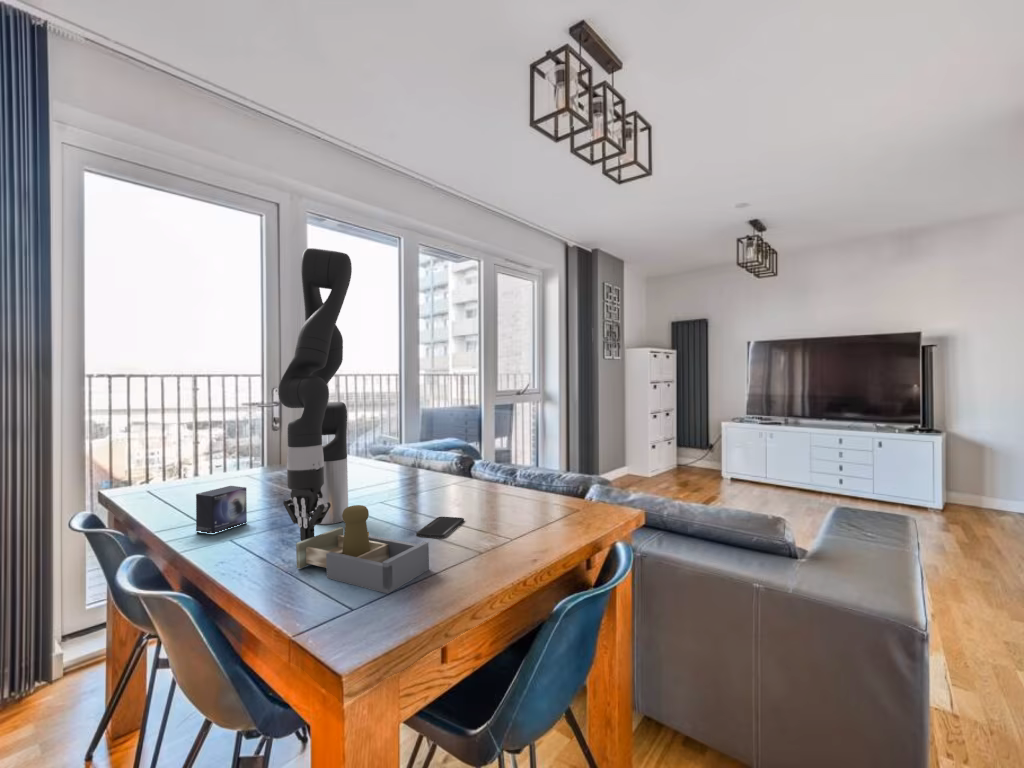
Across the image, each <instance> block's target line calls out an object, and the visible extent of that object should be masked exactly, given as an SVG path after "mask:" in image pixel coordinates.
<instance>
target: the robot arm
mask: <svg viewBox="0 0 1024 768" xmlns="http://www.w3.org/2000/svg"><path fill="white" fill-rule="evenodd" d="M300 260H301V261H300V262H301V263H300V273H301V275H300V276H301V283H302V295H303V303H304V323H303V324H302V326H301V328H300V331H299V333H298V337H297V341H296V347H295V350H294V355H293V358H292V359H291V360H290V362H289V364H288V366H287V368H286V369H285V372H284V374H283V375H282V377H281V379H280V382H279V384H278V392H277V393H278V399H279V402H280V403H281V404H282V405H283V406H284V407H285V408H290V409H303V410H302V413H301V416H300V417H299V418H296V419H293V420H291V421H289V423H288V424H287V453H286V473H287V474H286V475H287V476H286V478H287V479H286V480H287V481H286V483H287V488H288V489H289V490H291V491H290V497H289V498H288V499H286V500H283V502H282V503H283V506H284V508H285V510H286V512H287V514H288V516H289V518H290V520H291V522H292V523H293V524H296V525H297V526H298V528H299V532H300V534H299V535H300V536H299V538H300V541H303V540H306V539H309V538H312V537H314V536H315V526H316V525H331V524H338V523H340V522H341V523H342V522H344V521H343V518H342V514H343V511H344V509H345V508H347V507H349V483H348V482H349V479H348V472H349V471H348V449H347V448H348V444H347V442H348V441H347V440H348V438H347V436H348V432H347V431H348V409H347V406H346V404H345V403H344V402H342V401H329V398H330V390H329V386H328V383H329V382H330V381H331V379H332V378H333V377H334V376H335V375H336V374H337V372H338V371H339V368H340V367H341V365H342V363H343V361H344V359H343V357H344V340H343V335H342V333H341V331H340V329H339V327H338V326H337V320H338V319H339V316H340V313H341V310H342V308H343V304H344V302H345V298H346V296H347V292H348V289H349V287H350V283H351V279H352V273H353V272H352V269H353V268H352V260H351V258H350V256H349V254H348V253H344V252H341V251H335V250H328V249H321V248H315V247H307V248H305V249H304V251H303V253H302V257H301V259H300ZM320 288H321V289H325V290H326V289H327V290H330V291H329V294H328V297H327V298H326V300H325V301H324V302H323V298H322V295H321V290H320ZM333 435H334V438H333V439H331V441H329V442H328V443H326V444H324V445H323V436H333Z"/></svg>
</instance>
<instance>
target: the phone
mask: <svg viewBox="0 0 1024 768" xmlns="http://www.w3.org/2000/svg"><path fill="white" fill-rule="evenodd" d="M463 523H465V518H463V517H456V516H455V517H454V516H438V517H436V518H434V519H433V520H432V521H430V522H429V523H428V524H426V525H425V526H423V527H422V528H420V529H419V530H417V531H416V533H415V534H416V537H418V538H429V539H445V538H446V537H448V536H449V535H450V534H451V533H453V532H454V531H455V530H456V529H457V528H458V527H460V525H462V524H463Z"/></svg>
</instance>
